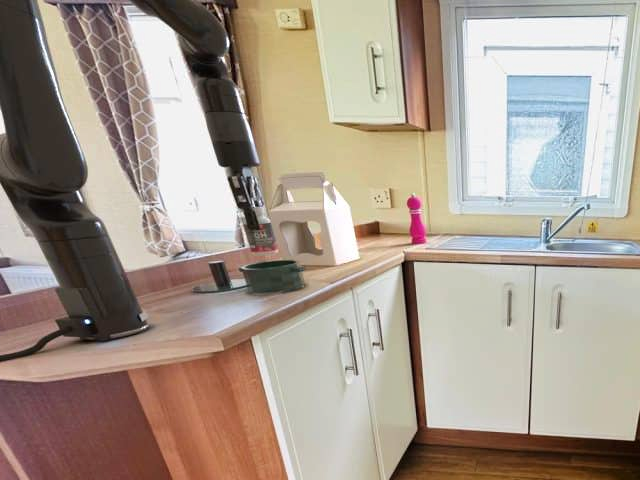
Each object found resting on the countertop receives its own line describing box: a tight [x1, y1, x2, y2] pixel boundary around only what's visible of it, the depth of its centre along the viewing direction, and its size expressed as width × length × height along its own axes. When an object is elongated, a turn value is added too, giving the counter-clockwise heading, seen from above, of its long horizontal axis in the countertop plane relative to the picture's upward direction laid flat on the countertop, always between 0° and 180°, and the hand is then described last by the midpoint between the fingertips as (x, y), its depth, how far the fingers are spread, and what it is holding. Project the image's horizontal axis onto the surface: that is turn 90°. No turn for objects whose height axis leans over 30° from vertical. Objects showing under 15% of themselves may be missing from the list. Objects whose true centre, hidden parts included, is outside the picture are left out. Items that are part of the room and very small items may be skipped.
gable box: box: [268, 171, 360, 267], centre depth 142 cm, size 22×13×28 cm, turn 73°
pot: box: [238, 259, 307, 295], centre depth 109 cm, size 13×19×6 cm
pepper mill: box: [406, 192, 427, 245], centre depth 181 cm, size 7×7×20 cm
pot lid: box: [191, 260, 247, 294], centre depth 112 cm, size 14×14×7 cm
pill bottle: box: [242, 206, 279, 256], centre depth 93 cm, size 5×5×10 cm
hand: (258, 228), depth 93 cm, fingers closed on pill bottle, 5 cm apart
